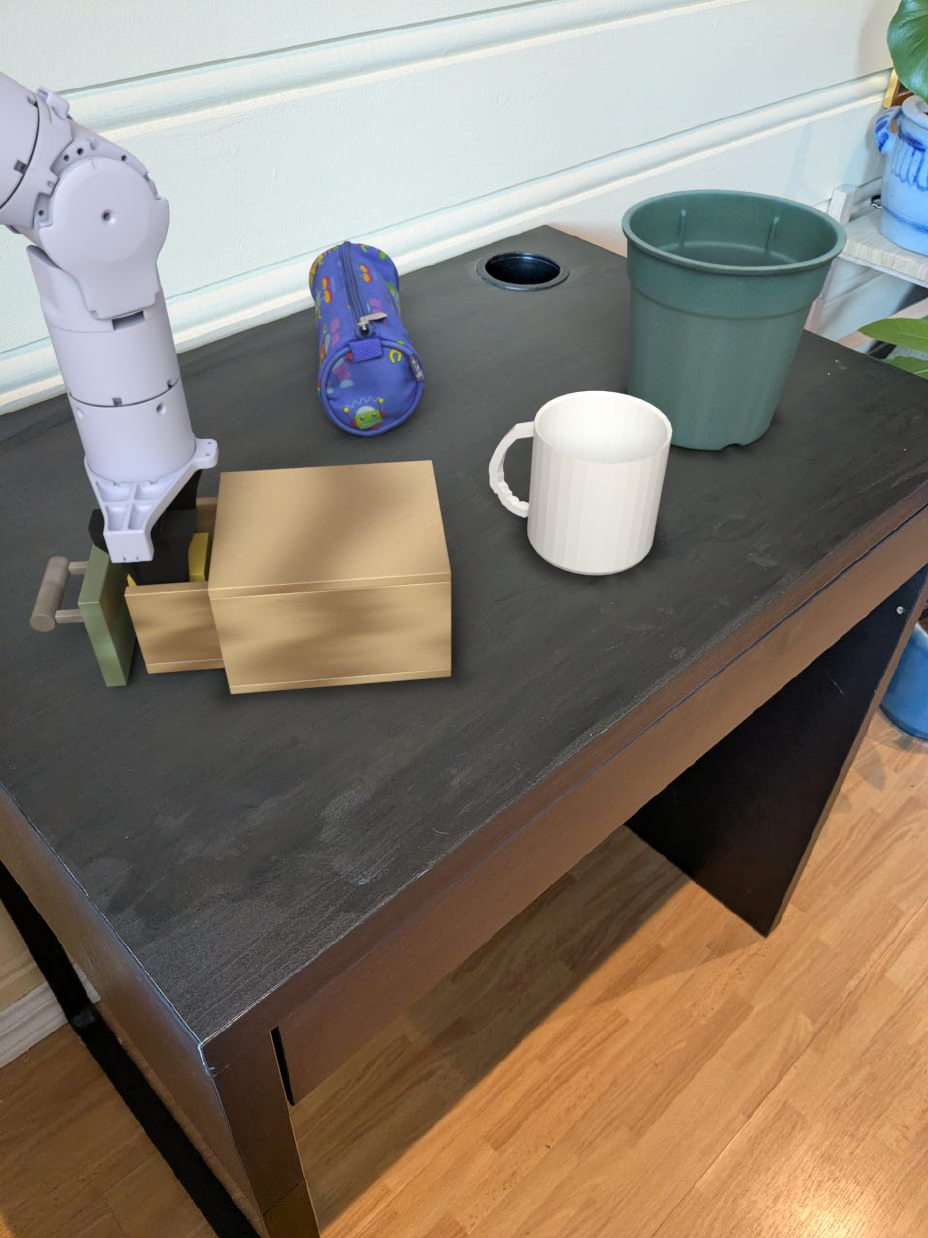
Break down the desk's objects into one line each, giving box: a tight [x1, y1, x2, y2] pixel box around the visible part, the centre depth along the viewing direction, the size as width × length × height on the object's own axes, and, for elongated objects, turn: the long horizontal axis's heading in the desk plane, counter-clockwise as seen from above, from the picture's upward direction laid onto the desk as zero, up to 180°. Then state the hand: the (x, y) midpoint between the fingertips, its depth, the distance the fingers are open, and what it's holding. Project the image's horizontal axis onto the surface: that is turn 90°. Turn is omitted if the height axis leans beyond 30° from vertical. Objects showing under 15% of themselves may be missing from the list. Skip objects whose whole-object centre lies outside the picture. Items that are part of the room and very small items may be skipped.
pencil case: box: [308, 240, 426, 438], centre depth 83 cm, size 22×9×10 cm, turn 9°
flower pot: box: [621, 188, 848, 451], centre depth 77 cm, size 16×16×16 cm
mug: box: [488, 390, 672, 576], centre depth 67 cm, size 12×9×9 cm
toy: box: [127, 533, 212, 586], centre depth 58 cm, size 4×4×5 cm
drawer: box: [29, 496, 225, 688], centre depth 59 cm, size 16×10×7 cm, turn 97°
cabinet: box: [207, 459, 452, 695], centre depth 60 cm, size 13×11×8 cm
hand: (174, 580), depth 59 cm, fingers closed on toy, 4 cm apart
